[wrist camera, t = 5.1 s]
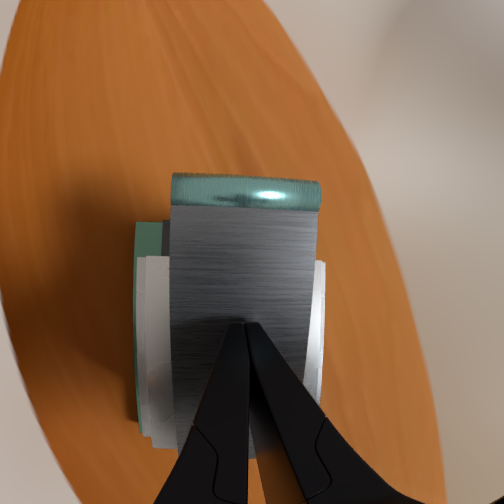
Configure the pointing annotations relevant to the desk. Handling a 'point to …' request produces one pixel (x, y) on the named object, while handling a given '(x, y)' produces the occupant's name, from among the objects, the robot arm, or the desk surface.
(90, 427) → the desk surface
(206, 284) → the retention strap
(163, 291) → the teal box cradle
